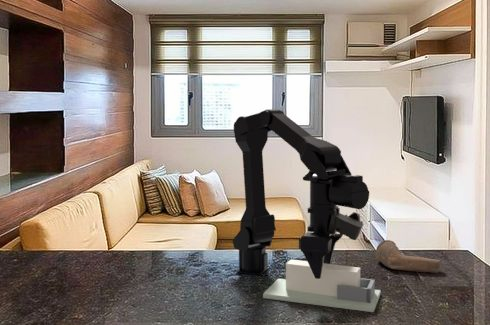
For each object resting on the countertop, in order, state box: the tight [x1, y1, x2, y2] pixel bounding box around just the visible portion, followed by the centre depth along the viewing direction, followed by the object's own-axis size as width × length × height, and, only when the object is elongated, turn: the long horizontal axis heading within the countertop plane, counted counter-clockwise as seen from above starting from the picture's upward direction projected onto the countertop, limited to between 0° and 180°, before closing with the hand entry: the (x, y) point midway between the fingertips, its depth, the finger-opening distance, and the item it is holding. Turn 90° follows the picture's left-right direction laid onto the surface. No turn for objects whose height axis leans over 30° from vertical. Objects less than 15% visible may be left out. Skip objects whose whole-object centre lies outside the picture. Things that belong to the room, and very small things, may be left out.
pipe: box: [374, 239, 442, 274], centre depth 140 cm, size 6×17×10 cm
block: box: [285, 259, 361, 297], centre depth 118 cm, size 16×4×6 cm, turn 65°
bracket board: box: [262, 277, 381, 313], centre depth 119 cm, size 24×11×4 cm, turn 69°
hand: (322, 272), depth 118 cm, fingers open, 9 cm apart
